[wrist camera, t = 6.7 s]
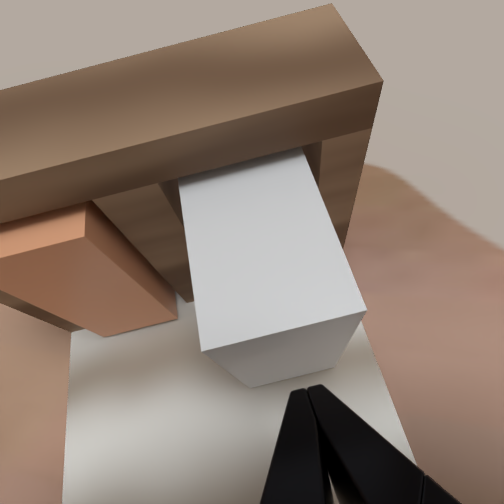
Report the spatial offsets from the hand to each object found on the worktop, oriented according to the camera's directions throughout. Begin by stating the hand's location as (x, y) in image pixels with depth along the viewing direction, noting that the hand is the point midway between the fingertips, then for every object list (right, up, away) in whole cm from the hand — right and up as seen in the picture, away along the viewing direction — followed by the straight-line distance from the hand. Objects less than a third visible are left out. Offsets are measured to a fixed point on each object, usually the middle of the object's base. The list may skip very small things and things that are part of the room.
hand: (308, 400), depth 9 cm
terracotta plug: (-8, +2, +10) cm, 13 cm away
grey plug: (0, +1, +8) cm, 8 cm away
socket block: (-3, -2, +8) cm, 9 cm away
